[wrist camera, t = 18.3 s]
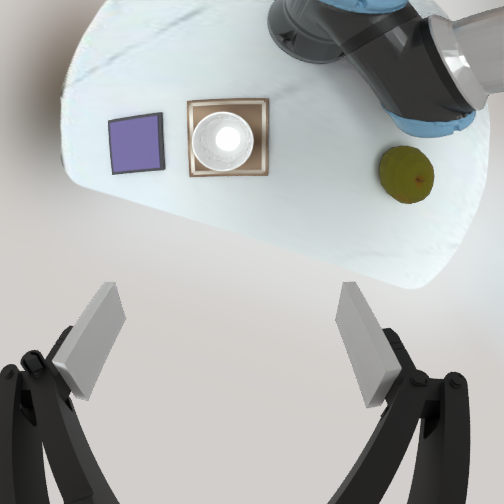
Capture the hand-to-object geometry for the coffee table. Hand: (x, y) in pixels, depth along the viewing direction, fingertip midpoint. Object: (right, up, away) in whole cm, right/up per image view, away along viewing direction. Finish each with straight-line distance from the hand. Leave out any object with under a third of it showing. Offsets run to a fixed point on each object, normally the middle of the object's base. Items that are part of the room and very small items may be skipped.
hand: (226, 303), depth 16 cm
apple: (+27, +18, +30) cm, 45 cm away
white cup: (-2, +21, +27) cm, 35 cm away
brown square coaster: (-3, +22, +28) cm, 35 cm away
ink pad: (-19, +22, +28) cm, 40 cm away
